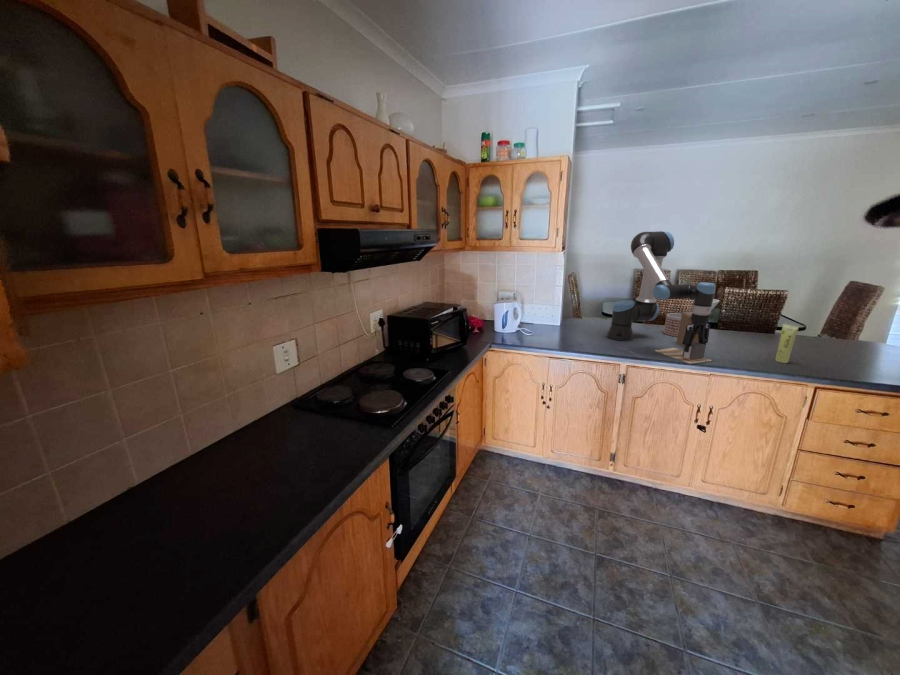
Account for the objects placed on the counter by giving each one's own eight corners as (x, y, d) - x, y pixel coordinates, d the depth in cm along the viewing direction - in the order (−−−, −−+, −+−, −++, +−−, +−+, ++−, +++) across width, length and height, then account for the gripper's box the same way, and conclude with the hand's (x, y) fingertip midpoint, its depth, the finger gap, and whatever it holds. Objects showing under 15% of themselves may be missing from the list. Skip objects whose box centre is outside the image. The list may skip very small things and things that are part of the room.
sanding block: (682, 357, 186) (684, 342, 184) (692, 356, 188) (695, 341, 186) (692, 361, 180) (695, 346, 178) (702, 359, 182) (705, 344, 180)
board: (653, 352, 198) (653, 350, 198) (674, 349, 202) (674, 347, 202) (689, 365, 178) (689, 363, 178) (711, 362, 182) (712, 360, 182)
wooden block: (702, 350, 201) (709, 315, 195) (682, 349, 203) (689, 315, 197) (694, 344, 210) (700, 311, 204) (675, 343, 212) (681, 311, 206)
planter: (687, 333, 234) (691, 314, 230) (688, 338, 223) (691, 318, 219) (663, 330, 241) (667, 312, 237) (662, 335, 230) (666, 316, 226)
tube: (773, 361, 182) (783, 324, 177) (773, 359, 186) (783, 322, 180) (788, 364, 179) (799, 326, 173) (788, 361, 182) (798, 324, 177)
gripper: (692, 316, 171) (683, 361, 178) (723, 314, 177) (713, 357, 183) (678, 313, 178) (671, 356, 185) (708, 310, 184) (700, 352, 190)
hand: (692, 356), depth 184 cm, fingers closed on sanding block, 7 cm apart
